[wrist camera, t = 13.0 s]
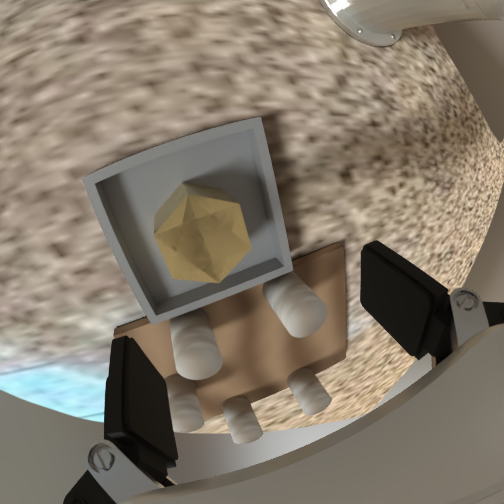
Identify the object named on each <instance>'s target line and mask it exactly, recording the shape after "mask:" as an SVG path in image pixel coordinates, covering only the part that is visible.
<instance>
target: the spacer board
mask: <svg viewBox="0 0 504 504" xmlns="http://www.w3.org/2000/svg"><path fill="white" fill-rule="evenodd" d="M292 266H293V271H291V272H288V273H286V274H283V275H281V276H279V277H276V278H274V279H271V280H269V281H266V282H264V283H261V284H259V285H256V286H254V287H251V288H249V289H246V290H244V291H241V292H239V293H236V294H234V295H231V296H229V297H226V298H224V299H221V300H218V301H216V302H213V303H211V304H208V305H205V306H203V307H200V308H197V309H195V310H192V311H189V312H187V313H184V314H181V315H179V316H176V317H173V318H170V319H168V320H165V321H162V322H159V323H157V324H154V325H152V324H151V323H150V321H149V319H148V318H147V317H146V318H143V319H140V320H138V321H135V322H132V323H129V324H127V325H124V326H121V327H118V328H115V329H114V338H119V337H122V336H125V335H127V336H128V337H129V338H131V337H132V338H134V339H135V341H136V342H137V344H138V345H139V346H140V348H141V349H142V350H143V352H144V353H145V355H146V356H147V357H148V359H149V360H150V361H151V363H152V364H153V365H154V366H155V368H156V369H157V370H158V372H159V373H160V374H161V375H162V377H163V378H164V379H165V382H166V384H167V391H168V398H169V406H170V412H171V419H172V425H173V431H176V432H192V431H195V430H198V429H199V428H201V427H202V426H203V425H204V420H205V419H208V418H211V417H214V416H217V415H220V414H223V413H224V416H225V419H226V421H227V424H228V427H229V430H230V433H231V435H232V438H233V441H234V442H235V443H237V444H246V443H250V442H252V441H255V440H257V439H259V438H260V437H261V436H262V435H263V431H262V429H261V427H260V425H259V422H258V420H257V418H256V416H255V413H254V411H253V409H252V406H251V404H250V403H253V402H255V401H258V400H260V399H263V398H265V397H268V396H270V395H272V394H275V393H277V392H279V391H281V390H284V389H286V388H288V387H290V389H291V391H292V392H293V394H294V396H295V398H296V399H297V401H298V403H299V404H300V406H301V408H302V409H303V411H304V413H305V414H306V415H314V414H317V413H319V412H321V411H322V410H324V409H325V408H326V407H328V406H329V404H330V403H331V401H332V399H331V397H330V396H329V394H328V393H327V391H326V390H325V389H324V387H323V386H322V384H321V383H320V381H319V380H318V378H317V377H316V376H315V374H317V373H319V372H321V371H323V370H325V369H327V368H329V367H331V366H332V365H334V364H336V363H338V362H340V361H342V360H343V359H345V358H346V285H345V264H344V249H343V246H342V245H340V244H339V243H335V244H333V245H330V246H328V247H325V248H323V249H321V250H318V251H316V252H313V253H311V254H309V255H306V256H304V257H301V258H299V259H296V260H294V261H292Z"/></svg>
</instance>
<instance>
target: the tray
mask: <svg viewBox="0 0 504 504" xmlns="http://www.w3.org/2000/svg"><path fill="white" fill-rule="evenodd" d="M82 180H83V183H84V185H85V188H86V191H87V193H88V196H89V199H90V201H91V204H92V206H93V209H94V211H95V214H96V216H97V218H98V221H99V223H100V225H101V228H102V230H103V232H104V234H105V237H106V239H107V241H108V243H109V245H110V248H111V250H112V252H113V254H114V256H115V258H116V260H117V262H118V264H119V266H120V268H121V270H122V272H123V274H124V276H125V278H126V280H127V282H128V284H129V286H130V288H131V289H132V291H133V293H134V295H135V297H136V299H137V300H138V302H139V304H140V306H141V307H142V309H143V311H144V313H145V314H146V316H147V318H148V319H149V321H150V323H151V324H152V325H154V324H157V323H159V322H162V321H165V320H168V319H170V318H173V317H176V316H179V315H181V314H184V313H187V312H189V311H192V310H195V309H197V308H200V307H203V306H205V305H208V304H211V303H213V302H216V301H218V300H221V299H224V298H226V297H229V296H231V295H234V294H236V293H239V292H241V291H244V290H246V289H249V288H251V287H254V286H256V285H259V284H261V283H264V282H266V281H269V280H271V279H274V278H276V277H279V276H281V275H283V274H286V273H288V272H291V271H293V266H292V260H291V255H290V250H289V244H288V239H287V234H286V229H285V224H284V219H283V214H282V209H281V204H280V199H279V195H278V190H277V185H276V181H275V176H274V171H273V167H272V162H271V158H270V154H269V149H268V145H267V140H266V136H265V132H264V128H263V124H262V119H261V117H255V118H250V119H245V120H241V121H237V122H233V123H229V124H225V125H221V126H218V127H214V128H210V129H207V130H203V131H200V132H197V133H193V134H190V135H187V136H184V137H181V138H178V139H175V140H172V141H169V142H166V143H163V144H160V145H157V146H155V147H152V148H149V149H147V150H144V151H141V152H139V153H136V154H134V155H131V156H129V157H126V158H124V159H121V160H119V161H117V162H114V163H112V164H110V165H107V166H105V167H103V168H101V169H99V170H96V171H94V172H92V173H90V174H88V175H87V176H85V177H83V178H82ZM182 182H184V183H190V184H195V185H201V186H206V187H212V188H217V189H222V190H224V191H225V192H226V193H227V194H229V195H230V196H231V197H232V198H233V199H234V200H236V201H237V202H238V203H239V204H240V207H241V211H242V215H243V218H244V222H245V226H246V229H247V233H248V237H249V240H250V244H251V247H252V249H251V250H250V251H249V252H248V253H247V254H246V255H245V256H244V257H243V258H242V260H241V261H240V262H239V263H238V264H237V265H236V266H235V267H234V268H233V269H232V270H231V271H230V273H229V274H228V275H227V276H226V277H225V278H224V279H223V280H222V281H221V282H220V283H211V282H200V281H189V280H179V279H173V278H172V276H171V274H170V272H169V270H168V267H167V265H166V263H165V261H164V258H163V256H162V254H161V251H160V249H159V247H158V244H157V242H156V240H155V237H154V215H155V213H156V212H157V211H158V210H159V209H160V207H161V206H162V205H163V204H164V203H165V201H166V200H167V199H168V198H169V197H170V195H171V194H172V193H173V192H174V191H175V190H176V188H177V187H178V186H179V185H180V184H181V183H182Z"/></svg>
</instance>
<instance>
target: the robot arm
mask: <svg viewBox="0 0 504 504" xmlns="http://www.w3.org/2000/svg"><path fill="white" fill-rule="evenodd" d="M320 2H321V4H322V6H323V7H324V9H325V10H326V11H327V13H328V14H329V15H330V17H331V18H332V19H333V20H334V21H335V23H337V24H338V25H339V26H340V27H341V28H342V29H343V30H344V31H345V32H347V33H348V34H349V35H351V36H352V37H354V38H355V39H357V40H359V41H360V42H363V43H365V44H368V45H371V46H376V47H383V46H388V45H391V44H394V43H395V42H397V41H398V40H399V38H400V36H401V35H402V31H403V29H407V28H413V27H418V26H424V25H426V26H428V25H431V24H438V23H446V22H456V21H471V20H504V0H320ZM447 293H448V289H447V288H445V287H444V286H443V285H441V284H440V283H439V282H437V281H436V280H435V279H433V278H432V277H430V276H429V275H428V274H426V273H425V272H423V271H422V270H421V269H419V268H418V267H416V266H415V265H414V264H412V263H411V262H409V261H408V260H406V259H405V258H403V257H402V256H400V255H399V254H397V253H396V252H394V251H393V250H391V249H390V248H388V247H387V246H385V245H384V244H382V243H381V242H379V241H377V240H376V241H373V242H370V243H368V244H366V245H364V247H363V250H362V251H361V290H360V301H361V304H362V306H363V307H364V309H365V310H366V311H367V312H368V313H369V314H370V315H371V316H372V317H373V318H374V319H375V320H376V321H377V322H378V323H379V324H380V325H381V326H382V327H383V328H384V329H385V330H386V331H387V332H388V333H389V334H390V335H391V336H392V337H393V338H394V339H395V340H396V341H397V342H398V343H399V344H400V345H401V346H402V347H403V348H404V349H405V350H406V352H407V353H408V354H409V355H411V356H415V357H416V358H417V359H418V360H420V359H421V358H422V357H423V356H425V355H426V354H427V353H428V352H429V354H431V356H432V370H430V371H429V372H428V373H427V374H426V375H424V376H423V377H421V378H420V379H419V380H418V381H416V382H415V383H414V384H412V385H411V386H409V387H408V388H407V389H405V390H404V391H402V392H401V393H399V394H398V395H396V396H395V397H393V398H392V399H390V400H389V401H387V402H386V403H384V404H383V405H381V406H379V407H378V408H376V409H375V410H373V411H371V412H370V413H368V414H366V415H365V416H363V417H361V418H359V419H358V420H356V421H354V422H352V423H351V424H349V425H347V426H345V427H343V428H341V429H340V430H338V431H336V432H333V433H331V434H329V435H327V436H325V437H323V438H322V439H319V440H317V441H315V442H313V443H310V444H308V445H306V446H304V447H301V448H299V449H297V450H294V451H292V452H289V453H287V454H284V455H282V456H279V457H276V458H274V459H271V460H269V461H265V462H263V463H259V464H256V465H254V466H250V467H247V468H244V469H241V470H237V471H233V472H230V473H226V474H223V475H219V476H215V477H211V478H207V479H203V480H198V481H194V482H189V483H184V484H177V483H176V482H174V481H173V480H172V479H170V478H169V477H168V476H167V475H168V473H167V468H173V467H176V462H175V460H177V459H178V453H177V448H176V442H175V437H174V431H173V425H172V419H171V412H170V406H169V398H168V391H167V384H166V382H165V379H164V378H163V377H162V375H161V374H160V373H159V372H158V370H157V369H156V368H155V366H154V365H153V364H152V363H151V361H150V360H149V359H148V357H147V356H146V355H145V353H144V352H143V350H142V349H141V348H140V346H139V345H138V344H137V342H136V341H135V339H134V338H132V337H131V338H129V337H128V336H127V335H125V336H122V337H119V338H115V339H113V340H112V345H111V354H110V364H109V376H108V378H107V380H106V390H105V410H104V439H101V440H97V441H94V442H93V443H92V444H90V446H89V447H88V448H87V450H86V453H85V464H86V467H87V468H88V470H87V471H86V472H85V474H84V475H83V476H82V477H81V478H80V479H79V481H78V482H77V483H76V484H75V486H74V487H73V488H72V489H71V491H70V492H69V493H68V494H67V495H66V497H65V499H64V502H63V504H504V303H500V302H482V300H481V298H480V296H479V295H478V294H477V293H476V292H475V291H473V290H471V289H468V288H457V289H455V290H454V291H453V292H452V293H451V295H449V294H447Z"/></svg>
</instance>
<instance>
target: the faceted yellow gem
mask: <svg viewBox="0 0 504 504" xmlns="http://www.w3.org/2000/svg"><path fill="white" fill-rule="evenodd" d="M154 237H155V240H156V242H157V244H158V247H159V249H160V251H161V254H162V256H163V258H164V261H165V263H166V265H167V267H168V270H169V272H170V274H171V276H172V278H173V279H179V280H189V281H200V282H211V283H220V282H221V281H222V280H223V279H224V278H225V277H226V276H227V275H228V274H229V273H230V271H231V270H232V269H233V268H234V267H235V266H236V265H237V264H238V263H239V262H240V261H241V260H242V258H243V257H244V256H245V255H246V254H247V253H248V252H249V251H250V250H251V249H252V247H251V244H250V240H249V237H248V233H247V229H246V226H245V222H244V218H243V215H242V211H241V207H240V204H239V203H238V202H237V201H236V200H234V199H233V198H232V197H231V196H230V195H229V194H227V193H226V192H225V191H224V190H222V189H217V188H212V187H206V186H201V185H195V184H190V183H184V182H182V183H181V184H180V185H179V186H178V187H177V188H176V190H175V191H174V192H173V193H172V194H171V195H170V197H169V198H168V199H167V200H166V201H165V203H164V204H163V205H162V206H161V207H160V209H159V210H158V211H157V212H156V213H155V215H154Z"/></svg>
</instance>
